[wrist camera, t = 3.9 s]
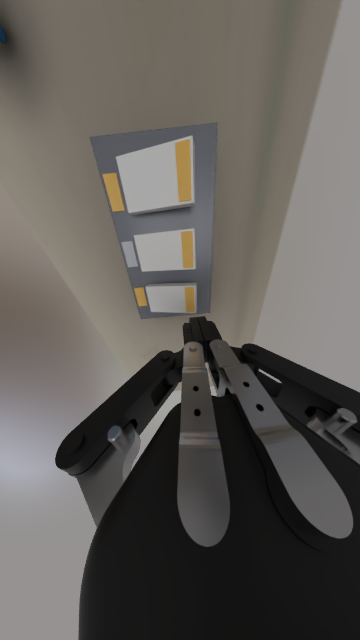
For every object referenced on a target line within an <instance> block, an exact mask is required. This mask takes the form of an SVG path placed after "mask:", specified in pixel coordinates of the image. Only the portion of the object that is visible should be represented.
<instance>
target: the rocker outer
mask: <svg viewBox="0 0 360 640" xmlns="http://www.w3.org/2000/svg"><path fill="white" fill-rule="evenodd" d="M145 288H146V292H147V296H148V301H149V305H150V310H151V312H170V313H196V312H197V283H157V284H148V285H147V286H146V287H145Z"/></svg>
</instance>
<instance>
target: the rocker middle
mask: <svg viewBox="0 0 360 640" xmlns="http://www.w3.org/2000/svg"><path fill="white" fill-rule="evenodd" d="M134 239H135V244H136V248H137V252H138V257H139V261H140V266H141V270H142V272H145V271H166V270H187V269H196V229H195V228H192V229H183V230H175V231H166V232H158V233H149V234H141V235H134Z"/></svg>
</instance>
